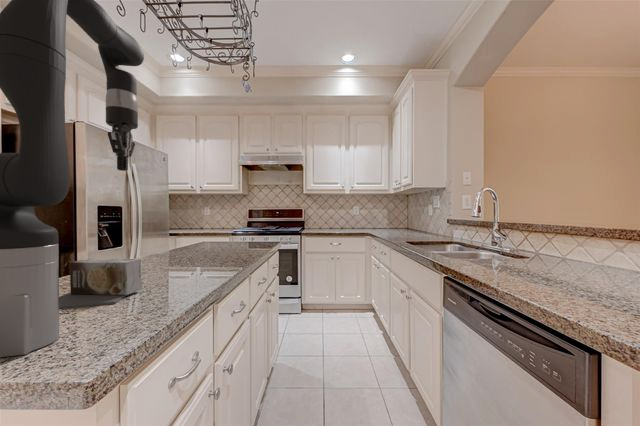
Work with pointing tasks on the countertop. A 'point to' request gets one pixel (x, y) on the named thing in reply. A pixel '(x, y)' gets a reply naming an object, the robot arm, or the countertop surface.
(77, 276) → the coffee box
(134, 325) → the countertop surface
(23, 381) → the countertop surface
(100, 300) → the mat
